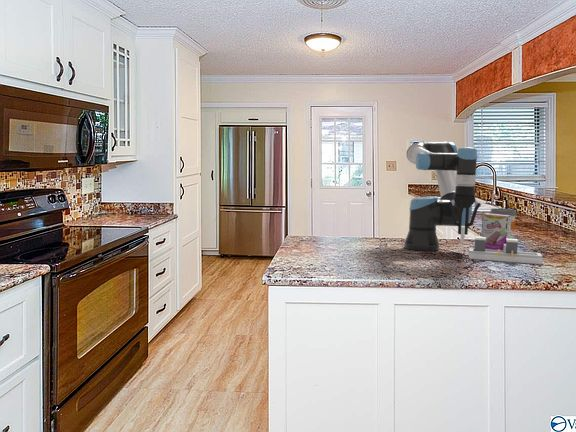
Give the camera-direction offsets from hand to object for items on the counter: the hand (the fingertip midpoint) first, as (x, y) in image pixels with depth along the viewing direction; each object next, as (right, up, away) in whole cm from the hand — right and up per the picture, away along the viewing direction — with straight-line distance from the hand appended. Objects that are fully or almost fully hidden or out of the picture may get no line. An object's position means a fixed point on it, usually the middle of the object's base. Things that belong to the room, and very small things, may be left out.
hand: (462, 242), depth 209 cm
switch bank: (+16, -7, -4) cm, 17 cm away
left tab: (+7, -4, -2) cm, 8 cm away
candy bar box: (+19, -5, +14) cm, 25 cm away
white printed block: (+39, -1, +54) cm, 67 cm away
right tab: (+18, -5, -5) cm, 19 cm away
